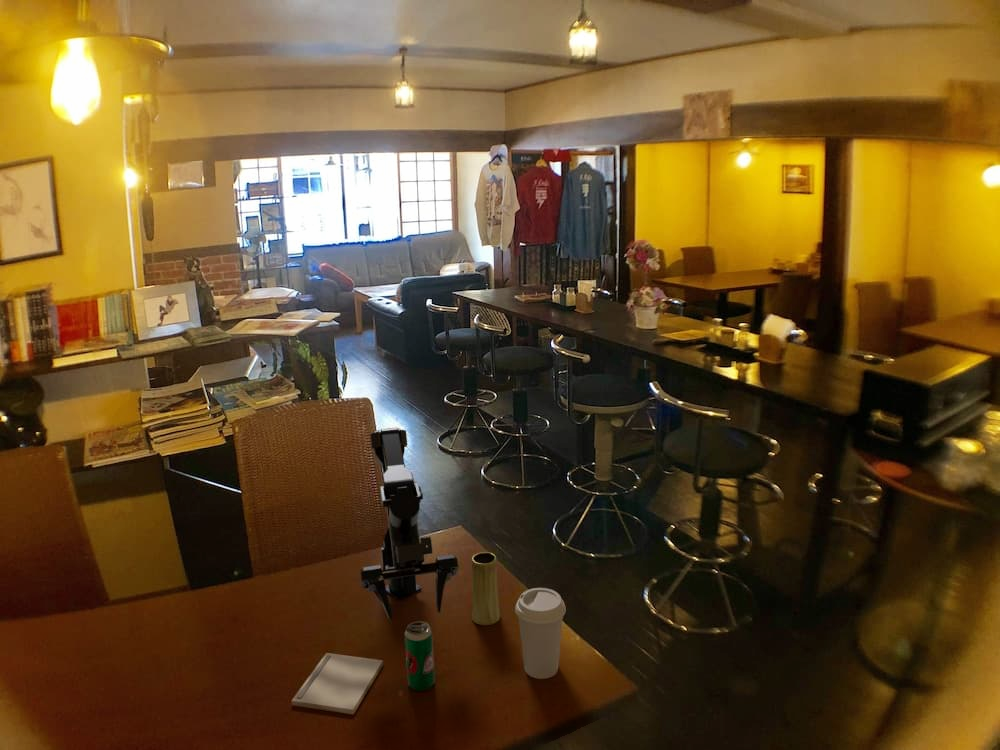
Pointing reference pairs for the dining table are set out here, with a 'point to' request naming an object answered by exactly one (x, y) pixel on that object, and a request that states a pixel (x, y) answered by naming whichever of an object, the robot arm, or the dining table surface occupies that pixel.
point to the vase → (485, 589)
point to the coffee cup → (540, 630)
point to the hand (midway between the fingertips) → (415, 616)
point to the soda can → (419, 656)
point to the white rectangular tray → (338, 683)
